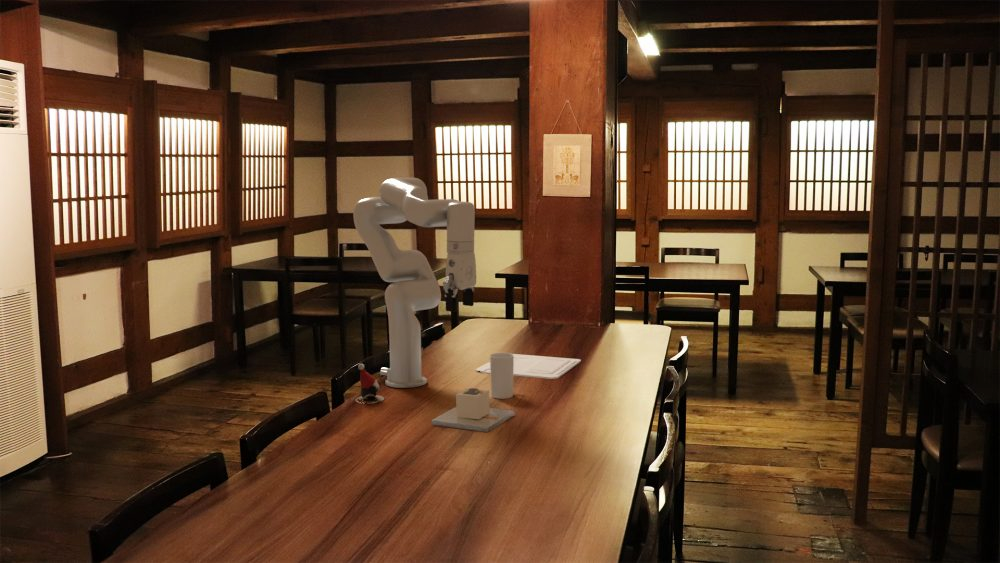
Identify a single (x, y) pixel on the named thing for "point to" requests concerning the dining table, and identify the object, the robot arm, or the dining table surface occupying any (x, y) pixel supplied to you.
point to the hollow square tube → (472, 404)
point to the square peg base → (473, 424)
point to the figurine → (368, 387)
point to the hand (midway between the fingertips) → (459, 308)
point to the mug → (501, 375)
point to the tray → (537, 366)
